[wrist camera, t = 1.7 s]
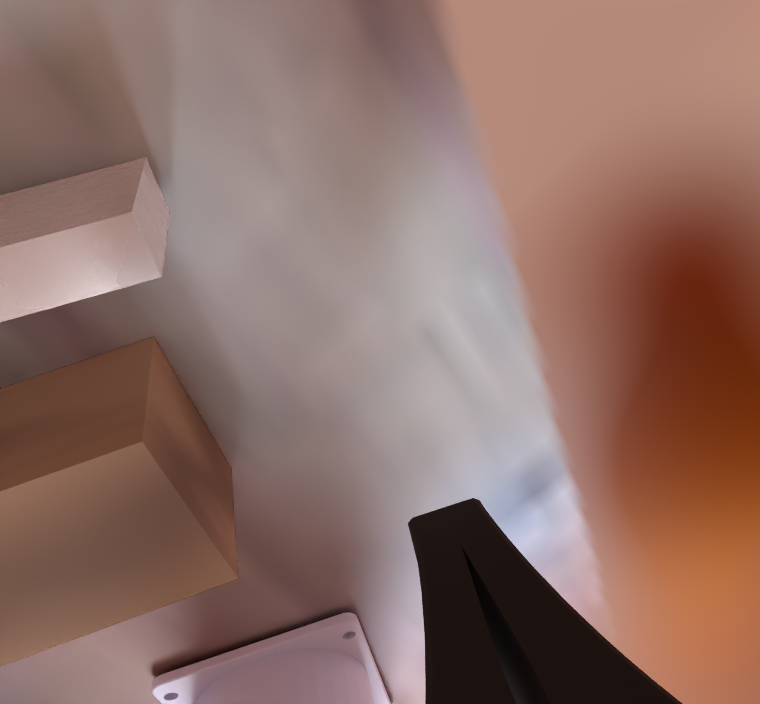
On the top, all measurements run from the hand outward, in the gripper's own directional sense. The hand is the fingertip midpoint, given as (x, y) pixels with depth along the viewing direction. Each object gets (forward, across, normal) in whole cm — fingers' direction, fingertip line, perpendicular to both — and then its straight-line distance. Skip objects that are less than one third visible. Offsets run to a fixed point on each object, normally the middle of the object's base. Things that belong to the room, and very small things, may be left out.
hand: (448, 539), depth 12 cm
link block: (+6, +8, 0) cm, 10 cm away
